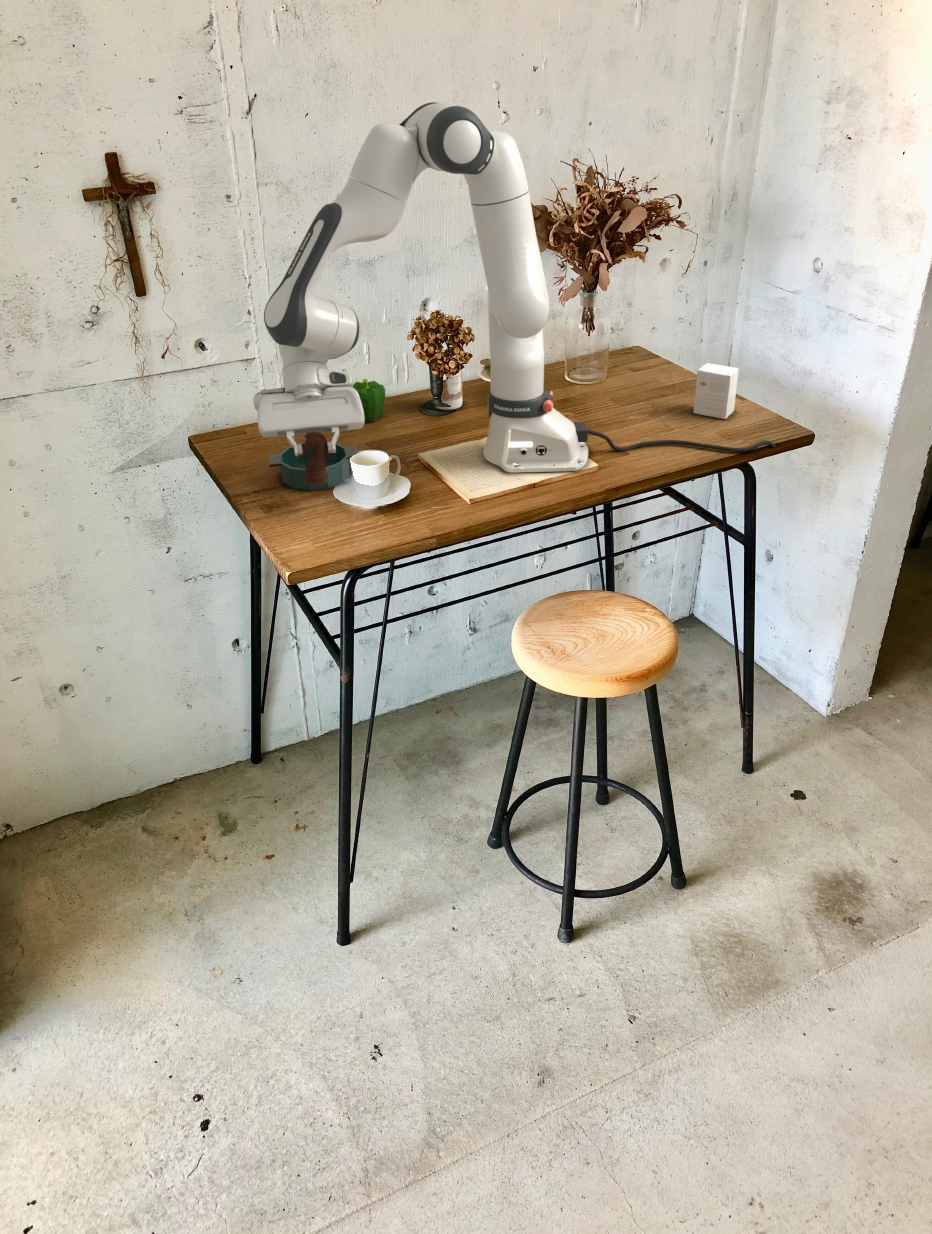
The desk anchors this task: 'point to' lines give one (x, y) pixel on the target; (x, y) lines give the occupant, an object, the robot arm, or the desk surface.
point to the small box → (715, 390)
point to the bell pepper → (371, 398)
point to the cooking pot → (296, 465)
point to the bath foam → (452, 392)
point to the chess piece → (316, 458)
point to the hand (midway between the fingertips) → (315, 453)
